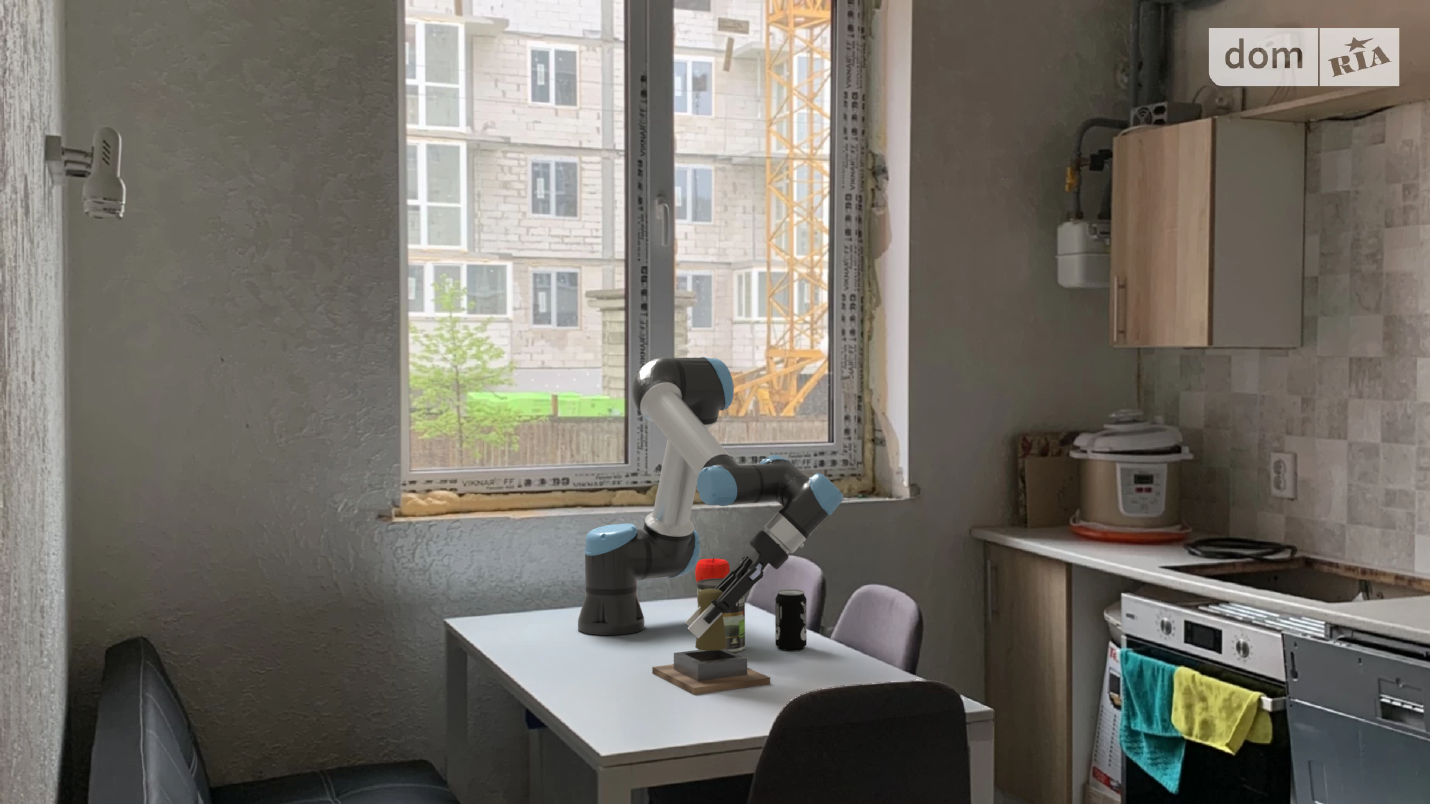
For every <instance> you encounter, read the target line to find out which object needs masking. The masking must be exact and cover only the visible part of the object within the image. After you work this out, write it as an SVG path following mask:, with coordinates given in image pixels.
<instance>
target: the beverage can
mask: <svg viewBox="0 0 1430 804" xmlns="http://www.w3.org/2000/svg"><path fill="white" fill-rule="evenodd" d="M774 599H775V600H774V602H775V604H774V605H775V606H774V608H775V610H774V611H775V612H774V615H775V616H774V617H775V618H774V621H775V622H774V624H775V625H774V626H775V630H774V631H775V634H774V635H775V637H774V638H775V639H774V640H775V642H774V643H775V646H776V647H777V649H779V650H780V651H781V650H782V651H788V652H789V651H790V652H796V651H801V650H804V649H805V647H806V646H807V645H808V644H807V640H808V639H807V632H808V631H807V627H808V626H807V624H808V623H807V622H808V621H807V619H808V618H807V597H806V594H805V591H804V590H801V589H795V588H790V589H789V588H787V589H785V588H784V589H780V590H777V595H776V597H775V598H774Z"/></svg>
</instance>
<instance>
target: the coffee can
mask: <svg viewBox="0 0 1430 804" xmlns="http://www.w3.org/2000/svg"><path fill="white" fill-rule="evenodd" d="M723 579H724V578H713V579H704V580H700V581H698V582H696V587H697V589H696V590H697V591H696V592H697V596H698V593H699V592H700V591H701V590H704V589H714V588H715V587H716V586H717V585H718V584H719V583H720V582H721V581H722V580H723ZM745 597H746V594H745V595H744V596H743V597H742V598H741V599H740V600H739V601H738V602H737V603H736V604H735V605H734V606H733V607H732V608H731V609H730V611H729V612H727V613H726V612H725V613H723V620H724V628H725V635H726V642H727V648H725V649H727V650H729V651H732V652H734V653H738V652H741V651H744V650H745V649H746V608H745V607H746V598H745ZM699 607H700V605H699V604H698V603H697V609H698V608H699ZM698 650H700V649H698Z"/></svg>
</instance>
